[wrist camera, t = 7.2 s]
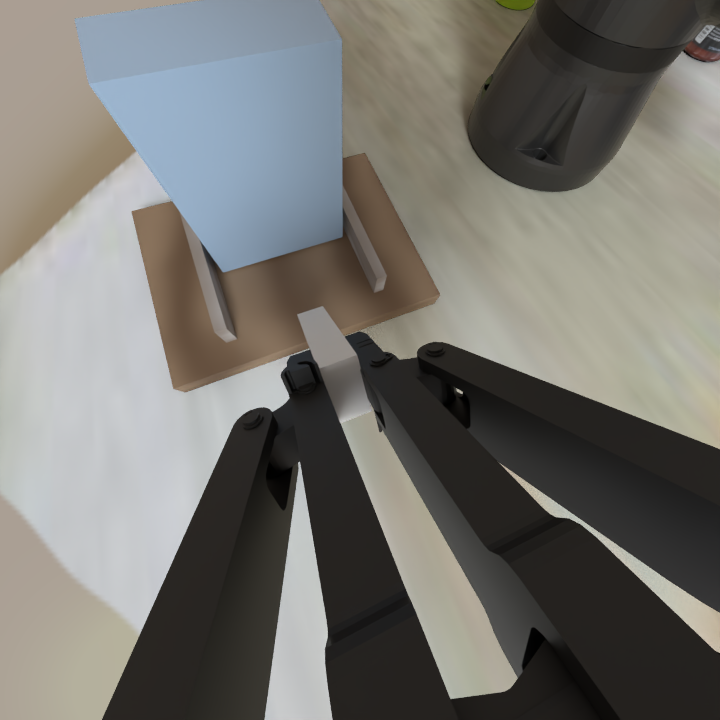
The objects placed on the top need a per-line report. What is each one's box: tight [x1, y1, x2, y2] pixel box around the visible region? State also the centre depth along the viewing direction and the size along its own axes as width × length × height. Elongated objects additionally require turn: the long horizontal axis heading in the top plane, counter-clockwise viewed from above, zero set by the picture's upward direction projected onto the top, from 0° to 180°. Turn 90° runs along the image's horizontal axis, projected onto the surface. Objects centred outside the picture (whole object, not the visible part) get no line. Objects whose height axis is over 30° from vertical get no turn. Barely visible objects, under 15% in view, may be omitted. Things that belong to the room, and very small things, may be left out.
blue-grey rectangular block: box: [75, 0, 343, 273], centre depth 17 cm, size 10×4×12 cm, turn 112°
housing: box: [132, 153, 440, 392], centre depth 22 cm, size 21×16×4 cm
